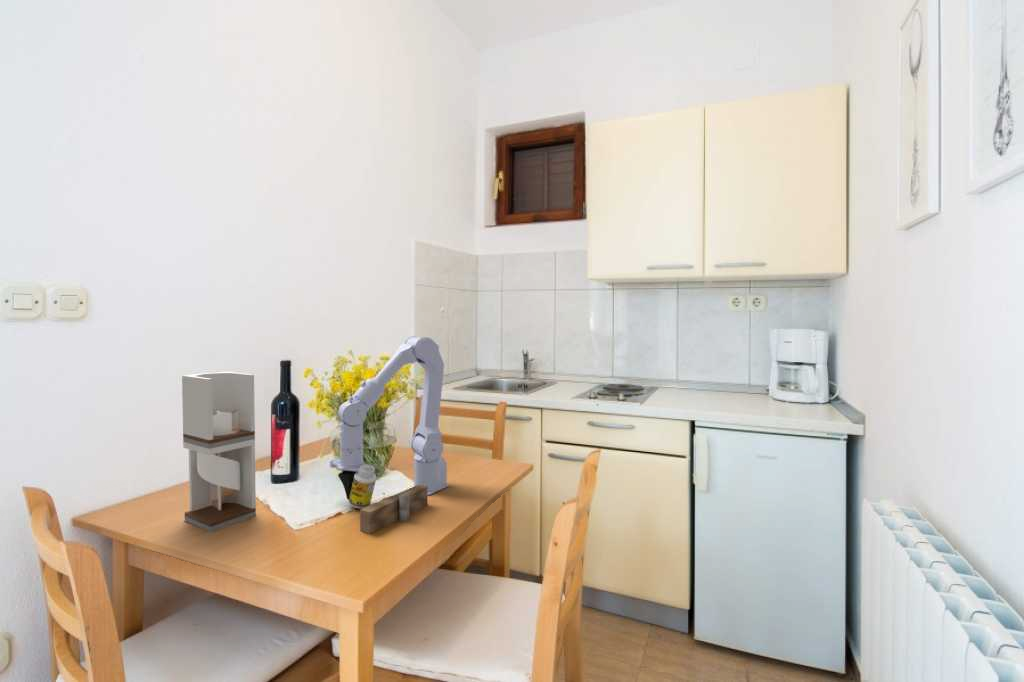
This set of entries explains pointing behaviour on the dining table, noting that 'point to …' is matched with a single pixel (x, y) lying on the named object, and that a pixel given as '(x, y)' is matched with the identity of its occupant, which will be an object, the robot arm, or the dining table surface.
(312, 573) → the dining table surface
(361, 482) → the supplement bottle
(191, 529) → the dining table surface
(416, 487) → the stop bar
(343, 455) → the robot arm
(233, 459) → the white tower model
